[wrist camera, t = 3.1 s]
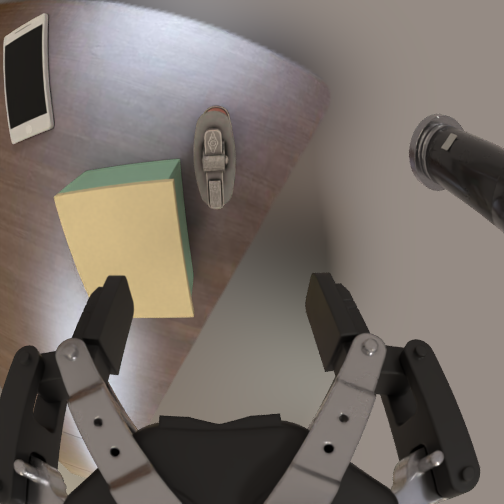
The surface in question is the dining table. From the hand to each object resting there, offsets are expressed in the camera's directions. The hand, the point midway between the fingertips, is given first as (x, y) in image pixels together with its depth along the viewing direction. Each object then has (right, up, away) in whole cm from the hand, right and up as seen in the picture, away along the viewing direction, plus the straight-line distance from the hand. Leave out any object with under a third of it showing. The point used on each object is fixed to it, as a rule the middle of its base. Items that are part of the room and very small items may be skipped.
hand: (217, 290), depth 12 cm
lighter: (-2, +13, +16) cm, 21 cm away
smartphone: (-25, +22, +7) cm, 34 cm away
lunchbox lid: (-11, +1, +14) cm, 18 cm away
